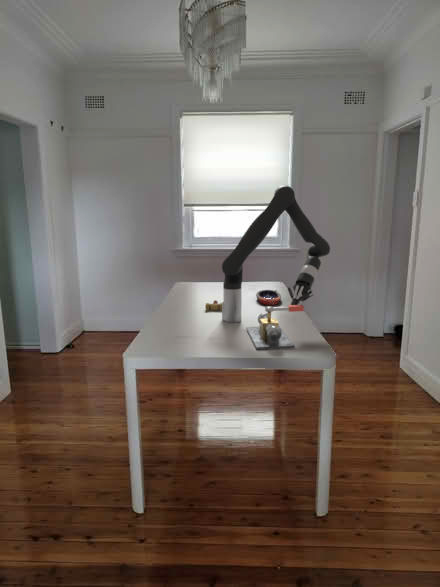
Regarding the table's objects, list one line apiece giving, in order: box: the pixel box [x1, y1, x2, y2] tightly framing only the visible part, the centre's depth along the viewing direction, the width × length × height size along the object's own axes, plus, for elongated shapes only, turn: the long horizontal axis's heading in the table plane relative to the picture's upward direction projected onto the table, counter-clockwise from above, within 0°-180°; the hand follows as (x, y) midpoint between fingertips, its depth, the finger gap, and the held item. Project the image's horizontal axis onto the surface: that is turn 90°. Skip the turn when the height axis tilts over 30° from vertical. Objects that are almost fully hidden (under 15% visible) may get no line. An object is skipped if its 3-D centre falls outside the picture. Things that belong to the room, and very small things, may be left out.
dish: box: [255, 289, 282, 306], centre depth 236 cm, size 16×31×5 cm, turn 175°
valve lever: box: [264, 304, 305, 313], centre depth 166 cm, size 17×4×2 cm, turn 95°
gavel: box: [205, 300, 222, 312], centre depth 224 cm, size 21×5×10 cm
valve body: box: [245, 312, 296, 351], centre depth 167 cm, size 27×16×12 cm, turn 5°
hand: (293, 307), depth 171 cm, fingers closed
